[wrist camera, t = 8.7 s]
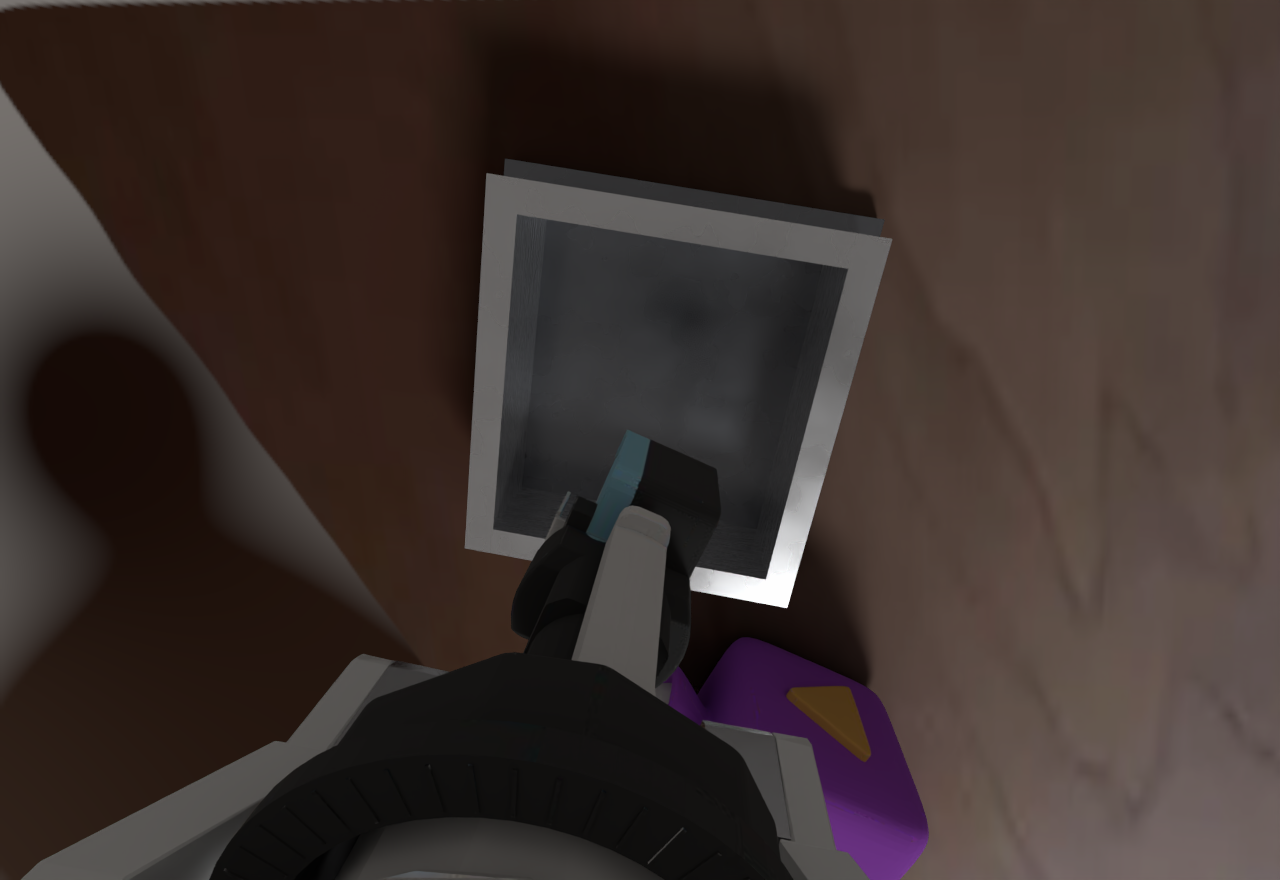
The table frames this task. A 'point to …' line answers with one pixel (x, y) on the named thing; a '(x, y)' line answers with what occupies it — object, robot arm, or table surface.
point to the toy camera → (821, 745)
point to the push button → (543, 729)
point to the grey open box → (664, 356)
